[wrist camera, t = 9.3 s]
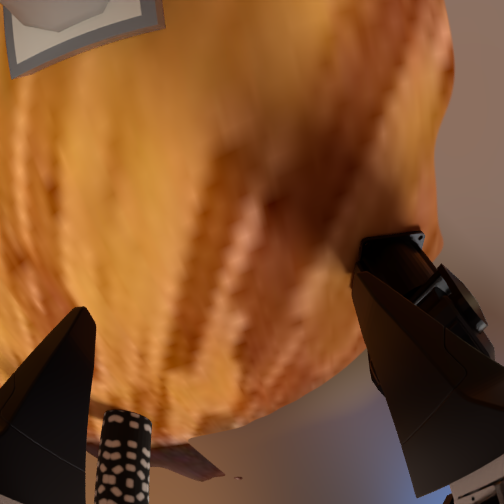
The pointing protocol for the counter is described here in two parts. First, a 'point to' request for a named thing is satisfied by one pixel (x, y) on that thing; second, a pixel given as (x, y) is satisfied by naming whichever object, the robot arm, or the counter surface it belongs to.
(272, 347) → the counter surface
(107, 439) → the white-spotted black cylinder
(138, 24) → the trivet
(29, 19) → the flask
